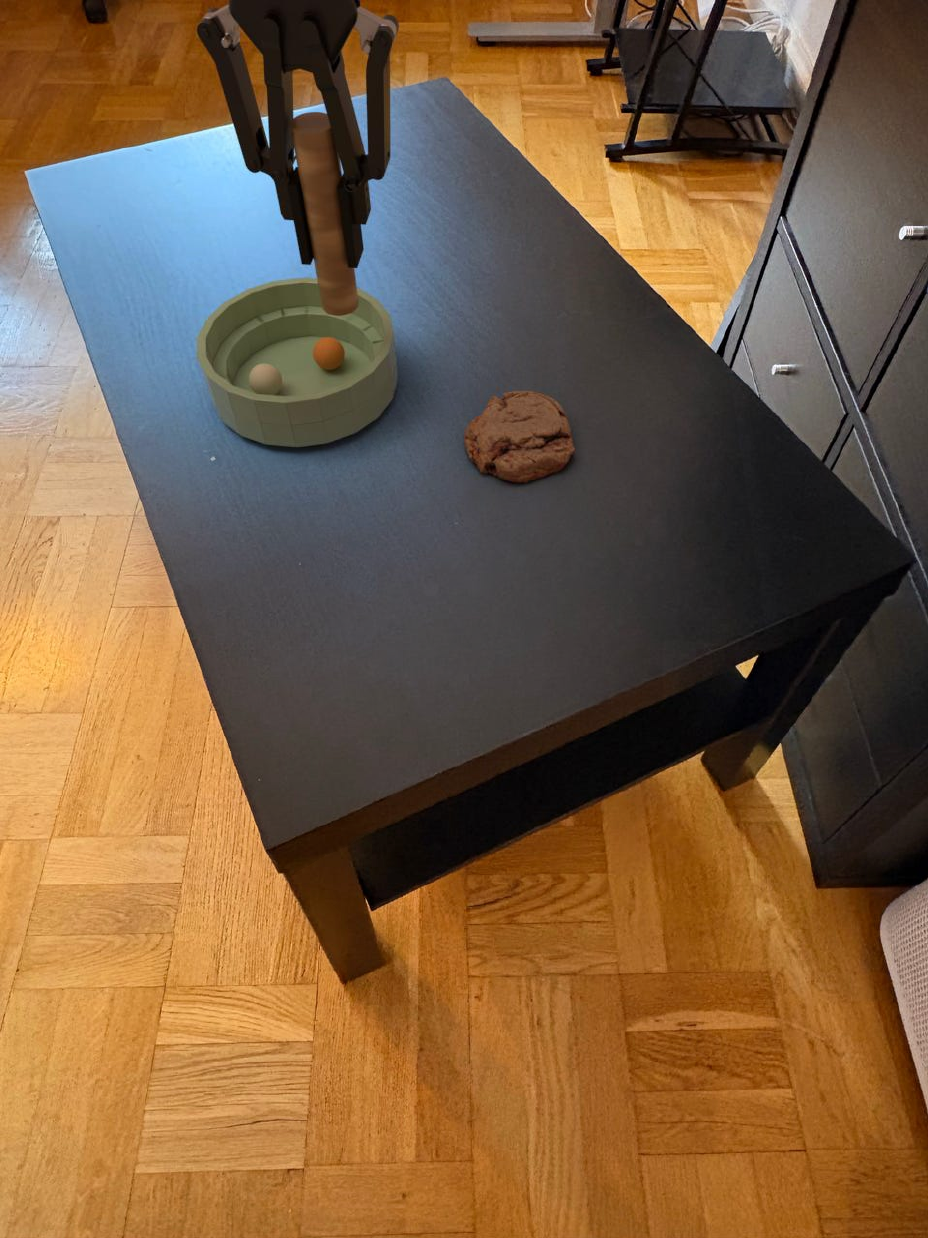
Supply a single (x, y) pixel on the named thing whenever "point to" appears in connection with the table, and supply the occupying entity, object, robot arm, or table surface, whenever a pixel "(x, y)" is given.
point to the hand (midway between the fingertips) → (332, 256)
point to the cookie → (520, 437)
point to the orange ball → (328, 353)
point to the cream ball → (265, 379)
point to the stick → (324, 210)
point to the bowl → (297, 364)
